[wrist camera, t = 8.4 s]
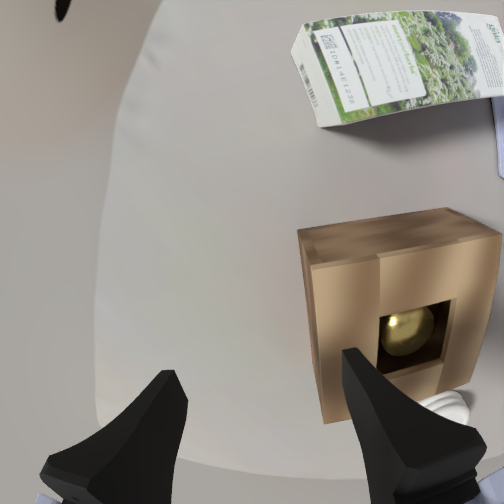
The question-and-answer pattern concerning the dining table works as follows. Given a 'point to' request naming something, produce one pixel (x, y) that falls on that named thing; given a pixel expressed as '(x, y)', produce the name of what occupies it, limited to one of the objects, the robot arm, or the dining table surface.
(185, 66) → the dining table surface
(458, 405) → the coaster
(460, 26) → the syrup box
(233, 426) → the dining table surface
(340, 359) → the box
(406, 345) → the cylinder
